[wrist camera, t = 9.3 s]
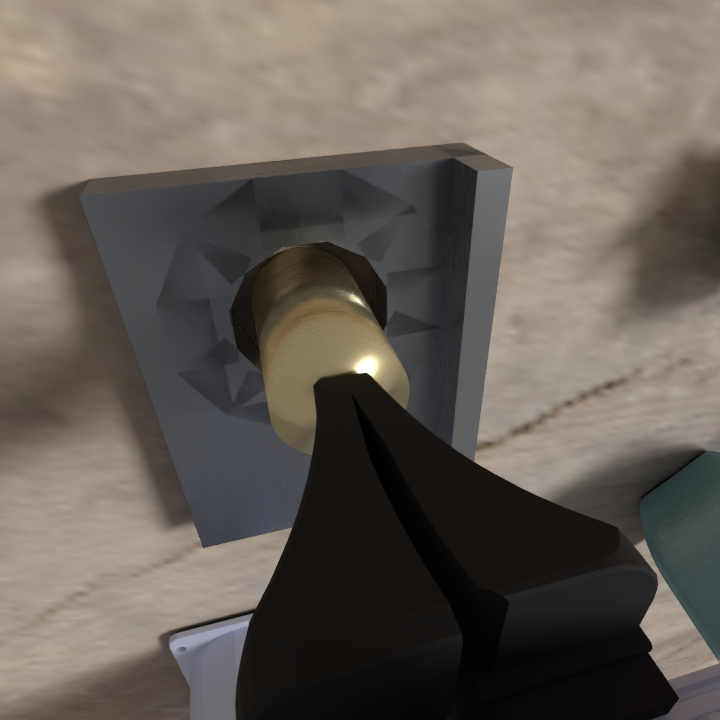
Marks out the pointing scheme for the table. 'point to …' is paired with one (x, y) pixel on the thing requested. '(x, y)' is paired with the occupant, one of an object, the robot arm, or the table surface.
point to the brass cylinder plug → (315, 338)
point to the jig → (256, 243)
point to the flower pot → (689, 541)
